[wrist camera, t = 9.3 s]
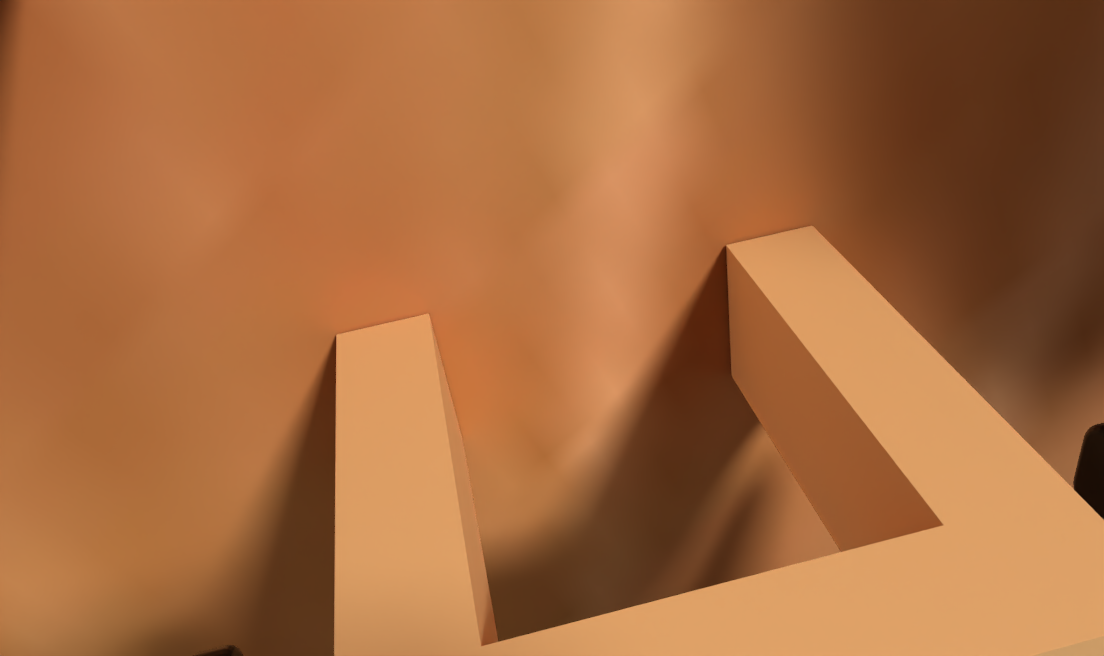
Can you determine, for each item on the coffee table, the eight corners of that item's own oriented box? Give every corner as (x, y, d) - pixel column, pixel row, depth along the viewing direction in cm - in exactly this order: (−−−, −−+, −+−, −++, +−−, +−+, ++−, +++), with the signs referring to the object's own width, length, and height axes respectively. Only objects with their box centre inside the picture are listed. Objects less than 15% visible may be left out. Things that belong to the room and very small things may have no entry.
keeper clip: (809, 357, 13) (1129, 771, 8) (379, 461, 13) (408, 981, 7) (812, 225, 12) (1192, 610, 7) (336, 335, 11) (331, 849, 6)
